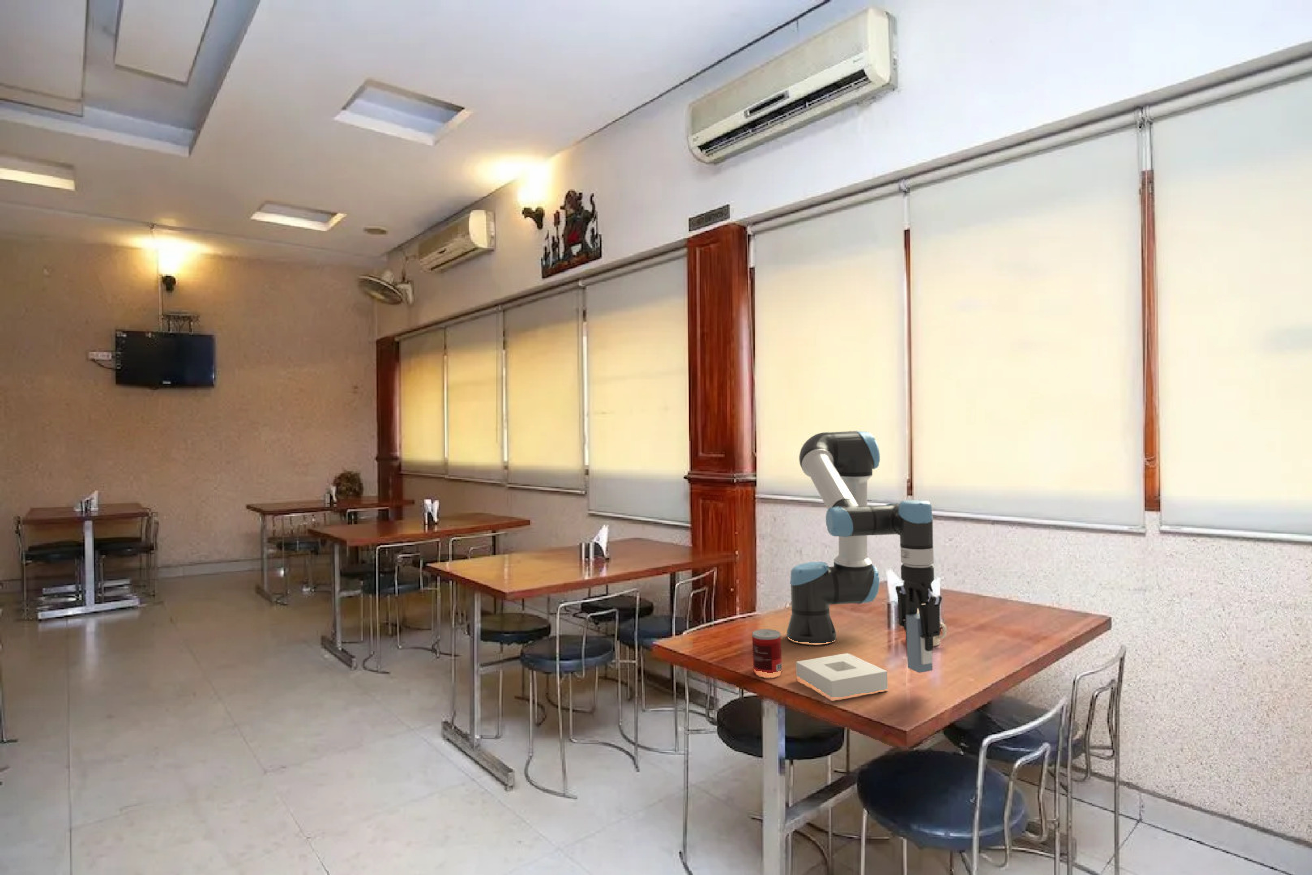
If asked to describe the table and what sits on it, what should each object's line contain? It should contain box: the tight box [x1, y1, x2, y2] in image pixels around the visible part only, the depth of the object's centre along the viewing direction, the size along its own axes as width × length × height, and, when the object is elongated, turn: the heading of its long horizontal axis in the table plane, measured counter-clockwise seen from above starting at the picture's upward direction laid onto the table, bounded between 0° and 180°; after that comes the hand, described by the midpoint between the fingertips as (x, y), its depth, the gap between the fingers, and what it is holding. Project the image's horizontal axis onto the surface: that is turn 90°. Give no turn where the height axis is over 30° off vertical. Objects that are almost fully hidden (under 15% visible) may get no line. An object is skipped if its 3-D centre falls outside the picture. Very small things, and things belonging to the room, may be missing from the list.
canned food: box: [751, 628, 783, 673], centre depth 186 cm, size 8×8×11 cm
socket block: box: [795, 652, 889, 697], centre depth 175 cm, size 16×16×5 cm
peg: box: [906, 613, 933, 674], centre depth 168 cm, size 4×4×13 cm
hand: (919, 659), depth 168 cm, fingers closed on peg, 4 cm apart
